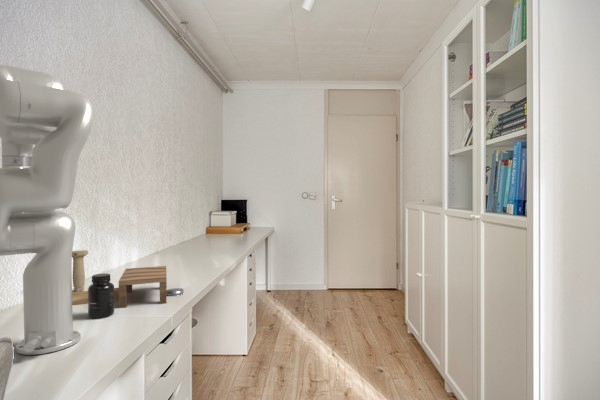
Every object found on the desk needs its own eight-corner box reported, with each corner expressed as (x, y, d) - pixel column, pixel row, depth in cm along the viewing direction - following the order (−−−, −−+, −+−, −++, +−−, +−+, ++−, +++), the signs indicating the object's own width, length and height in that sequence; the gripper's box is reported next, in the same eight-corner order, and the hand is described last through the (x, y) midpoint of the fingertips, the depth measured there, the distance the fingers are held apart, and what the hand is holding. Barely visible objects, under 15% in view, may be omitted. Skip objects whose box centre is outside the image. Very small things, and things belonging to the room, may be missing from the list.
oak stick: (125, 300, 126) (125, 288, 126) (39, 310, 116) (39, 297, 116) (125, 298, 128) (125, 286, 128) (41, 308, 118) (41, 295, 118)
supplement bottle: (85, 320, 105) (84, 278, 104) (91, 313, 111) (91, 273, 111) (111, 317, 106) (110, 276, 106) (116, 310, 113) (116, 271, 113)
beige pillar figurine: (85, 292, 136) (84, 252, 136) (66, 293, 135) (65, 252, 135) (90, 289, 141) (90, 250, 141) (72, 290, 140) (72, 250, 140)
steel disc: (184, 295, 130) (184, 291, 130) (166, 298, 128) (166, 293, 128) (182, 291, 136) (182, 287, 136) (165, 294, 133) (165, 289, 133)
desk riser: (166, 303, 120) (165, 277, 120) (119, 308, 116) (118, 281, 116) (166, 287, 141) (166, 265, 141) (126, 291, 136) (126, 268, 136)
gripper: (22, 161, 103) (23, 221, 103) (42, 166, 119) (43, 218, 120) (-11, 160, 101) (-10, 223, 101) (14, 165, 117) (15, 219, 117)
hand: (19, 220), depth 110 cm, fingers open, 9 cm apart
